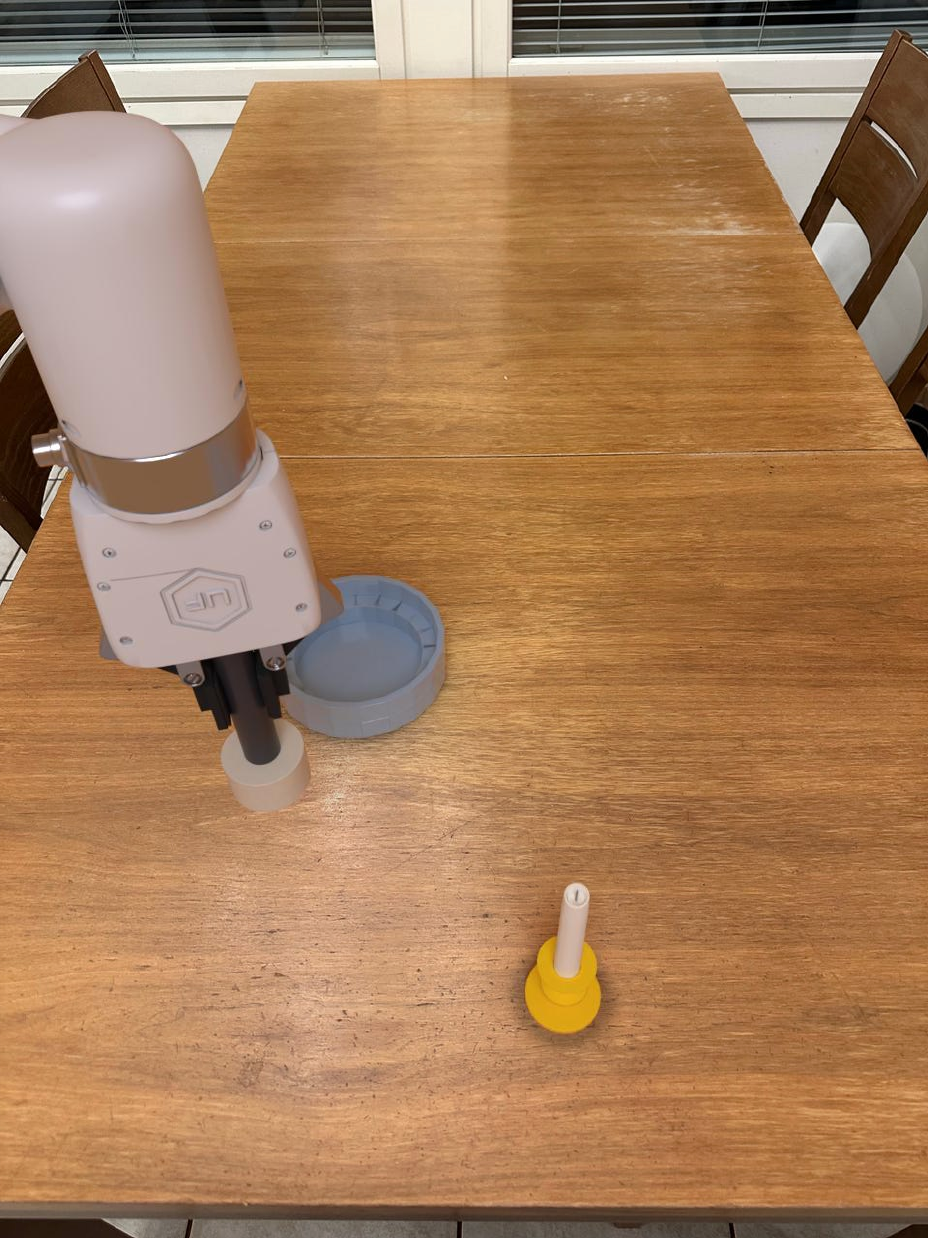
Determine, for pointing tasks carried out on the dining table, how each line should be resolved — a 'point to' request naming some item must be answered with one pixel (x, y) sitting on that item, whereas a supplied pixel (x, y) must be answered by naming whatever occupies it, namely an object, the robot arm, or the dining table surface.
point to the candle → (566, 971)
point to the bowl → (368, 661)
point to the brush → (259, 742)
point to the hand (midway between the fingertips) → (248, 703)
